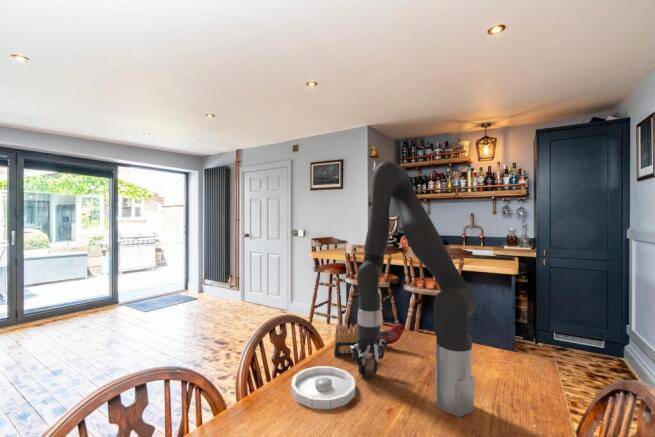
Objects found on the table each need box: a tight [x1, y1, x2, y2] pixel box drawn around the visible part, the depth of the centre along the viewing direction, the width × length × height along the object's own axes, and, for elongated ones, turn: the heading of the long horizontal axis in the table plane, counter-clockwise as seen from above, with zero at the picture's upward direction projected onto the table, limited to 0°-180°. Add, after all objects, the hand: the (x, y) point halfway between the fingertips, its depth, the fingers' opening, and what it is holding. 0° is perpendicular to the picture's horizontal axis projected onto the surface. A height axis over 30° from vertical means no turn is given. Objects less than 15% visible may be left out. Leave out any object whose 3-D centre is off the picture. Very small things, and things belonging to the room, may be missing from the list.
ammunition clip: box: [333, 323, 359, 358], centre depth 121 cm, size 11×2×12 cm, turn 96°
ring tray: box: [290, 365, 356, 410], centre depth 97 cm, size 19×19×2 cm
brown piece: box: [361, 354, 375, 380], centre depth 106 cm, size 4×4×6 cm
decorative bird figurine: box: [379, 323, 407, 349], centre depth 128 cm, size 3×18×10 cm, turn 78°
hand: (368, 373), depth 106 cm, fingers closed on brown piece, 4 cm apart
